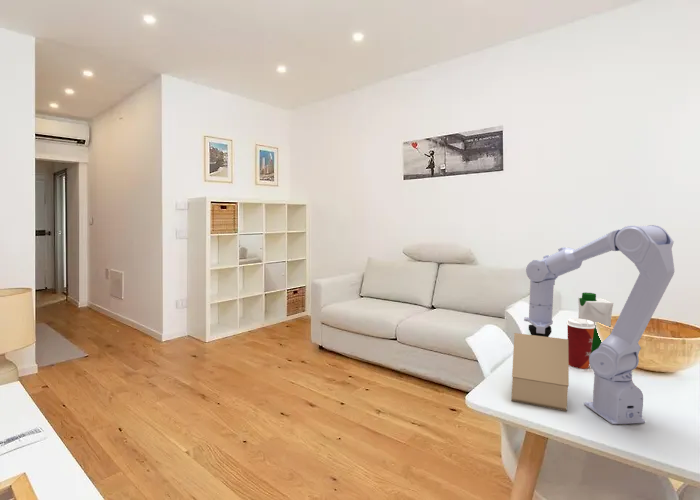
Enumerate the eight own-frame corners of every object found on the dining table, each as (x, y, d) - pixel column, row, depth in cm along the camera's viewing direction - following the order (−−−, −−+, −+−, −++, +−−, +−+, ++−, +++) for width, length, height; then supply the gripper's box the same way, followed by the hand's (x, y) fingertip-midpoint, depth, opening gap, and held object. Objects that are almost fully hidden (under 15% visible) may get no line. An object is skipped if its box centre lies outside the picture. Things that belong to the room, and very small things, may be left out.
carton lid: (514, 333, 101) (514, 333, 101) (568, 340, 96) (568, 339, 96) (512, 377, 96) (512, 376, 96) (568, 386, 91) (568, 385, 91)
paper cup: (597, 371, 116) (600, 325, 114) (569, 369, 117) (571, 323, 116) (587, 361, 123) (589, 318, 122) (560, 359, 125) (562, 317, 124)
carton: (513, 383, 107) (514, 362, 106) (563, 392, 102) (564, 369, 101) (511, 400, 97) (512, 377, 96) (566, 411, 92) (567, 386, 91)
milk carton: (573, 346, 137) (576, 290, 136) (600, 348, 136) (604, 291, 134) (583, 355, 129) (587, 296, 127) (613, 357, 127) (617, 297, 125)
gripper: (525, 297, 114) (523, 342, 116) (524, 307, 101) (522, 358, 102) (552, 299, 111) (550, 345, 113) (555, 310, 98) (552, 362, 99)
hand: (538, 352), depth 107 cm, fingers closed
